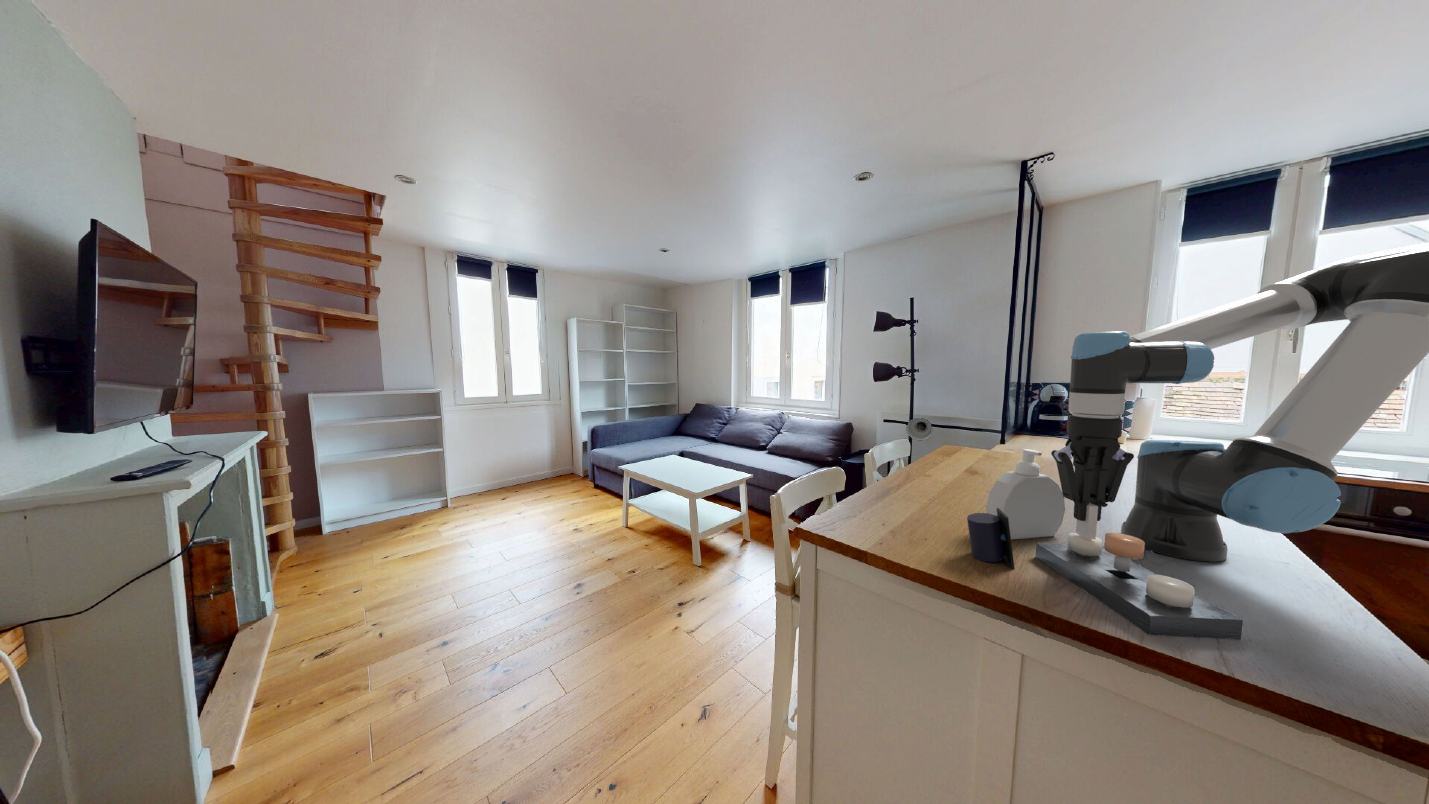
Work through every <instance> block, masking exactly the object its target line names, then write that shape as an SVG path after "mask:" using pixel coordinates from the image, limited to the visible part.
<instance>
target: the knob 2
mask: <svg viewBox="0 0 1429 804" xmlns="http://www.w3.org/2000/svg"><path fill="white" fill-rule="evenodd" d="M1146 593H1147V595H1149V596H1150V597H1152V598H1153V599H1155V600H1158V602H1160V603H1162V604H1163V605H1165V606H1167V607H1184V608H1189V607H1192V606H1193V599H1194V594H1195V588H1194V586H1192V585H1191V584H1190V583H1187V582H1185V581H1183V580H1181V579H1177V578H1174V577H1171V576H1167V575H1161V574H1157V575H1148V576H1147V585H1146Z"/></svg>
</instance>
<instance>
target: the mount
mask: <svg viewBox="0 0 1429 804" xmlns="http://www.w3.org/2000/svg"><path fill="white" fill-rule="evenodd" d="M1035 543H1036V544H1035V546H1036V547H1035V558H1036V559H1038V560H1040V562H1041V563H1044V564H1045V565H1046V566H1048V567H1050V568H1051V569H1053V570H1054V571H1055V572H1056V573H1058V574H1060V575H1061V576H1063V577H1064V578H1065V579H1067V580H1068V581H1070V582H1071V583H1073V584H1074V585H1075V586H1077V587H1078V588H1080V589H1082V590H1083V591H1085V592H1086V593H1088V594H1089V595H1090V596H1092V597H1093V598H1094V599H1097V601H1099V602H1100V603H1102V604H1103V605H1105V606H1106V607H1107V608H1109V609H1110V610H1112V611H1114V612H1115V613H1116V614H1117V615H1119V616H1120V617H1122V618H1124V619H1125V620H1126V621H1127V622H1129V623H1131V624H1132V625H1134V626H1135V627H1137V628H1138V629H1139V630H1141V631H1143V632H1144V633H1145V634H1147V635H1148V636H1159V637H1160V636H1161V637H1162V636H1163V637H1180V638H1182V637H1183V638H1199V639H1201V638H1202V639H1203V638H1204V639H1220V640H1221V639H1223V640H1226V639H1227V640H1242V637H1243V636H1242V634H1243V629H1244V628H1243V627H1244V619H1242V618H1241V617H1239V616H1236V615H1235V614H1233V613H1231V612H1229V611H1227V610H1226V609H1223V608H1221V607H1220V606H1218V605H1215V604H1214V603H1212V602H1210V601H1208V600H1206V599H1204V598H1202V597H1201V596H1198V595H1197V594H1195V593H1194V599H1193V606H1192V607H1189V608H1184V607H1167V606H1165V605H1163V604H1162V603H1160V602H1158V600H1155V599H1153V598H1152V597H1150V596H1149V595H1147V593H1146V585H1147V576H1148V575H1158V574H1157V573H1155V572H1153V571H1151V570H1150V569H1148V568H1145V567H1144V566H1141V565H1140V564H1137V563H1136V562H1134V561H1132V560H1131V567H1130V572H1123V571H1120V570H1117V569H1115V568H1114V558H1115V555H1114V554H1111V553H1109V552H1107V551H1106V550H1105V549H1104V545H1102V552H1101V555H1100V556H1091V557H1086V556H1080V555H1079V554H1077V552H1074V551H1072V550H1070V549H1069V548H1068V543H1053V542H1050V543H1049V542H1035Z"/></svg>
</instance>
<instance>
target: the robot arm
mask: <svg viewBox="0 0 1429 804" xmlns="http://www.w3.org/2000/svg"><path fill="white" fill-rule="evenodd" d="M1345 320H1346V321H1347V320H1348V321H1349V323H1348V324H1347V326H1346V327H1345V328H1344V329H1343V330H1342V331H1341V333H1340V334H1339V335H1338V336H1337V337H1336V339H1335V340H1334V341H1333V342H1332V343H1331V344H1330V346H1329V347H1328V348H1327V349H1326V350H1325V352H1323V354H1322V355H1321V356H1320V357H1319V358H1318V360H1317V361H1315V363H1314V364H1313V365H1312V366H1311V367H1310V369H1309V370H1308V371H1307V372H1306V374H1304V376H1303V377H1302V378H1301V379H1300V380H1299V382H1297V384H1296V385H1295V386H1294V388H1293V389H1292V390H1291V391H1290V392H1289V394H1288V395H1287V396H1286V397H1285V398H1284V399H1283V400H1282V401H1281V402H1280V404H1279V405H1278V406H1277V407H1276V408H1275V410H1274V411H1273V412H1272V413H1271V414H1270V415H1269V417H1268V418H1267V419H1266V420H1265V421H1264V423H1263V424H1262V425H1261V426H1260V427H1259V428H1258V430H1256V432H1255V433H1254V434H1252V435H1250V436H1244V437H1238V438H1237V437H1236V438H1234V439H1233V440H1232V442H1231V443H1230V444H1229V445H1228V446H1227V447H1226V448H1225V446H1224V444H1223V443H1221V442H1217V441H1203V440H1202V441H1200V440H1199V441H1198V440H1174V439H1173V440H1171V439H1170V440H1169V439H1149V440H1144V441H1143V442H1142V443H1141V444H1140V448H1139V450H1138V451H1139V452H1138V454H1137V456H1136V457H1137V468H1136V469H1137V470H1136V481H1135V484H1136V485H1135V496H1134V504H1133V506H1132V508H1131V509H1130V511H1129V514H1128V516H1127V517H1126V520H1125V521H1123V522H1122V524H1121V526H1120V527H1121V529H1120V534H1125V535H1129V536H1133V537H1136V538H1139V539H1141V540H1143V541H1144V542H1145V546H1144V550H1148V551H1151V552H1154V553H1158V554H1162V555H1165V556H1169V557H1173V558H1178V559H1185V560H1190V561H1197V562H1198V561H1199V562H1208V563H1211V562H1212V563H1213V562H1223V561H1225V560H1227V558H1228V545H1227V543H1226V542H1225V541H1224V539H1223V538H1224V537H1223V534H1222V533H1223V532H1222V530H1221V527H1220V524H1219V522H1218V521H1219V520H1218V516H1221V517H1224V518H1227V519H1229V520H1232V521H1233V522H1236V523H1238V524H1239V525H1243V526H1246V527H1250V528H1256V529H1259V530H1263V531H1265V532H1270V533H1279V534H1291V533H1302V532H1306V531H1310V530H1313V529H1316V528H1318V527H1320V526H1322V525H1323V524H1325V523H1327V522H1328V521H1329V520H1330V519H1332V517H1334V516H1335V515H1336V513H1337V512H1338V511H1339V509H1340V506H1341V504H1342V502H1341V500H1340V499H1339V497H1341V496H1342V492H1341V489H1340V487H1339V485H1338V484H1337V482H1335V478H1336V477H1337V476H1338V474H1339V473H1338V471H1337V470H1336V468H1335V466H1334V465H1333V463H1332V460H1333V459H1334V458H1335V457H1336V456H1337V454H1339V452H1340V451H1341V450H1342V449H1343V448H1344V447H1345V446H1346V444H1347V443H1348V442H1349V441H1350V440H1351V439H1352V438H1353V437H1354V436H1355V435H1356V434H1357V432H1358V431H1359V430H1360V429H1361V428H1362V427H1363V426H1364V425H1365V424H1366V422H1367V421H1369V419H1371V417H1372V416H1373V415H1374V414H1375V413H1376V411H1377V410H1378V409H1380V407H1381V406H1382V405H1383V403H1385V402H1386V401H1387V400H1388V398H1390V396H1391V395H1392V394H1393V393H1394V392H1395V391H1396V389H1398V387H1399V386H1400V385H1401V384H1402V383H1403V382H1404V381H1405V379H1406V378H1407V377H1408V376H1409V375H1410V374H1411V373H1412V371H1414V370H1415V368H1416V367H1417V366H1418V365H1419V364H1421V362H1422V361H1423V359H1424V358H1425V357H1426V356H1428V354H1429V242H1426V243H1421V244H1420V243H1419V244H1415V245H1409V246H1404V247H1397V248H1392V249H1386V250H1381V251H1376V252H1375V251H1374V252H1370V253H1369V252H1368V253H1365V254H1360V255H1359V254H1358V255H1356V256H1355V255H1354V256H1351V257H1347V258H1343V259H1340V260H1337V261H1334V262H1331V263H1328V264H1325V265H1322V266H1320V267H1317V268H1314V269H1311V270H1308V271H1306V272H1303V273H1299V274H1298V275H1295V276H1292V277H1289V278H1286V279H1284V280H1280V281H1278V282H1275V283H1271V284H1269V285H1267V286H1265V287H1262V288H1261V289H1260V290H1259V291H1258V292H1257V293H1256V294H1255V295H1251V296H1249V297H1245V298H1242V299H1239V300H1236V301H1233V302H1230V303H1227V304H1224V305H1221V306H1218V307H1215V308H1212V309H1210V310H1206V311H1202V312H1200V313H1197V314H1194V315H1190V316H1187V317H1185V318H1181V319H1178V320H1175V321H1172V322H1169V323H1166V324H1164V325H1160V326H1157V327H1154V328H1151V329H1148V330H1145V331H1141V332H1139V333H1136V334H1133V335H1130V334H1129V332H1127V331H1096V332H1086V333H1085V332H1084V333H1083V332H1082V333H1080V334H1077V335H1076V336H1075V338H1074V340H1073V345H1072V350H1071V351H1072V352H1071V356H1070V359H1071V363H1070V364H1071V365H1070V381H1069V383H1070V384H1069V396H1068V398H1069V399H1068V412H1069V413H1071V414H1069V415H1068V416H1067V425H1066V433H1067V435H1068V438H1067V440H1066V442H1065V443H1064V444H1065V446H1064V447H1062V448H1060V449H1059V450H1056V449H1053V450H1052V451H1051V453H1050V454H1051V456H1052V459H1054V460H1055V463H1056V467H1057V472H1058V476H1059V482H1060V489H1061V491H1062V493H1063V496H1064V499H1068V500H1069V501H1073V503H1074V504H1073V517H1074V519H1076V526H1075V533H1076V534H1078V535H1080V536H1082V537H1084V538H1086V539H1095V540H1096V537H1097V529H1098V528H1097V524H1098V522H1100V521H1101V519H1102V507H1103V508H1106V507H1107V506H1108V503H1114V502H1115V501H1116V498H1117V495H1118V492H1119V489H1120V487H1121V484H1122V482H1123V478H1124V475H1125V473H1126V470H1127V467H1128V465H1129V464H1130V463H1131V462H1132V461H1133V459H1134V458H1135V455H1134V454H1133V453H1131V452H1127V451H1125V450H1123V449H1122V448H1121V444H1120V442H1119V439H1120V438H1121V437H1122V432H1123V423H1124V421H1123V419H1122V417H1120V416H1122V415H1124V412H1125V401H1126V400H1125V397H1126V388H1127V384H1173V385H1174V384H1175V385H1180V384H1193V383H1197V382H1199V381H1202V380H1204V379H1205V378H1207V377H1208V376H1209V375H1210V374H1211V372H1212V370H1213V369H1214V367H1215V366H1214V363H1215V361H1214V360H1215V355H1214V353H1213V349H1216V348H1219V347H1223V346H1225V345H1230V344H1232V343H1235V342H1239V341H1242V340H1245V339H1250V338H1252V337H1255V336H1258V335H1261V334H1264V333H1268V332H1272V331H1275V330H1279V329H1280V330H1294V329H1299V328H1302V327H1305V326H1309V325H1313V324H1314V325H1315V324H1319V323H1320V324H1321V323H1328V322H1337V321H1345Z"/></svg>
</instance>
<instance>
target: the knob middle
mask: <svg viewBox="0 0 1429 804" xmlns="http://www.w3.org/2000/svg"><path fill="white" fill-rule="evenodd" d="M1104 534H1105V535H1104V545H1103V546H1104V549H1105V550H1106V551H1107V552H1109V553H1111V554H1114V555H1115V558H1114V568H1115V569H1117V570H1120V571H1123V572H1130V567H1131V561H1132V560H1142V559H1144V557H1145V556H1144V555H1145V549H1144V546H1145V542H1144V541H1143V540H1141V539H1139V538H1136V537H1133V536H1129V535H1125V534H1121V532H1120V533H1118V532H1107V533H1104Z"/></svg>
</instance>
